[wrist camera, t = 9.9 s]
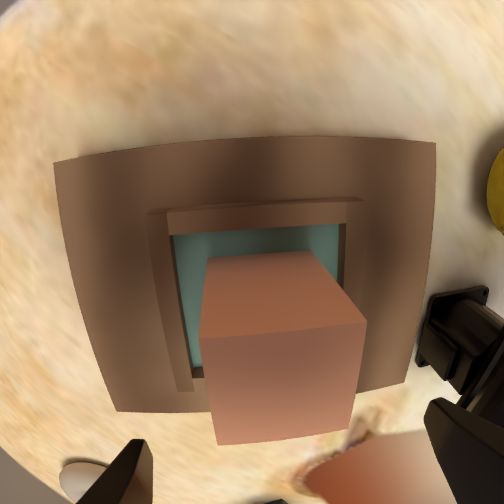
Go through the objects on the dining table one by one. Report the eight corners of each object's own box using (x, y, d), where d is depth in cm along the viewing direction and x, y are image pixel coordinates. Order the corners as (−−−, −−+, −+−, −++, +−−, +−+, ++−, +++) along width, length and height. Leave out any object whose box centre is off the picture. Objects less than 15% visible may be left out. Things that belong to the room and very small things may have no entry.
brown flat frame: (408, 141, 18) (448, 143, 14) (387, 359, 23) (411, 392, 19) (77, 159, 16) (41, 164, 12) (125, 384, 21) (112, 423, 17)
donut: (129, 459, 25) (48, 450, 24) (124, 486, 22) (39, 473, 21) (158, 503, 28) (85, 496, 27) (156, 525, 25) (80, 516, 24)
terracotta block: (310, 250, 16) (367, 320, 9) (308, 336, 17) (348, 428, 11) (207, 257, 15) (198, 338, 9) (217, 344, 17) (217, 445, 10)
